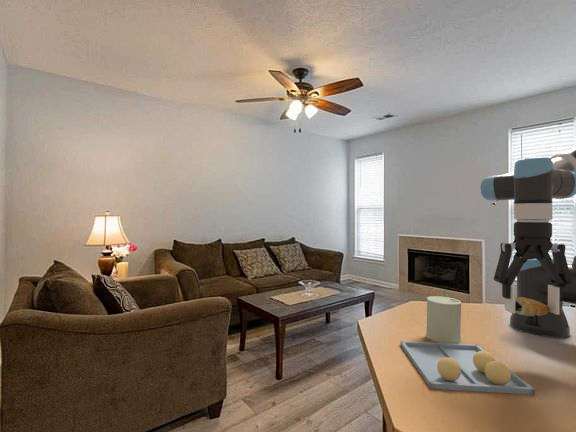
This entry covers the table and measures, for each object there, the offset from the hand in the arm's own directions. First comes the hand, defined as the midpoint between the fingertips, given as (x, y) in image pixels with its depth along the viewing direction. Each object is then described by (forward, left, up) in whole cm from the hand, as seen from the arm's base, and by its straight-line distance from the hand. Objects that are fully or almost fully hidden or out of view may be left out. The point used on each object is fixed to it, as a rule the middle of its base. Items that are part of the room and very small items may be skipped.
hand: (531, 312), depth 78 cm
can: (+16, -13, -13) cm, 24 cm away
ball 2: (+15, +13, -12) cm, 23 cm away
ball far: (+25, +12, -12) cm, 30 cm away
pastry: (+1, -1, -1) cm, 1 cm away
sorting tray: (+20, +5, -12) cm, 24 cm away
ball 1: (+15, +8, -12) cm, 21 cm away
